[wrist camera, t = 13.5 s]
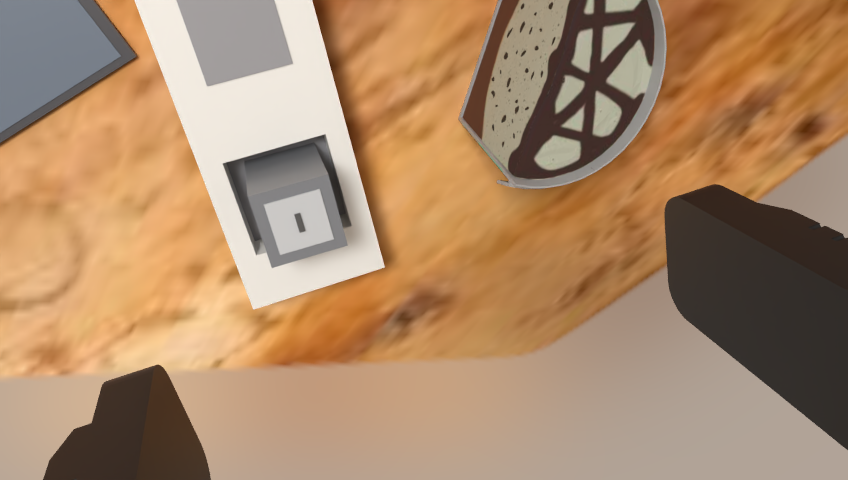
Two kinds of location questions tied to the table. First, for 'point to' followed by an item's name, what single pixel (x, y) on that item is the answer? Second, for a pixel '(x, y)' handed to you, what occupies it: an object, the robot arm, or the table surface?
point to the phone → (52, 56)
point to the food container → (564, 86)
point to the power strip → (261, 124)
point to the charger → (294, 204)
